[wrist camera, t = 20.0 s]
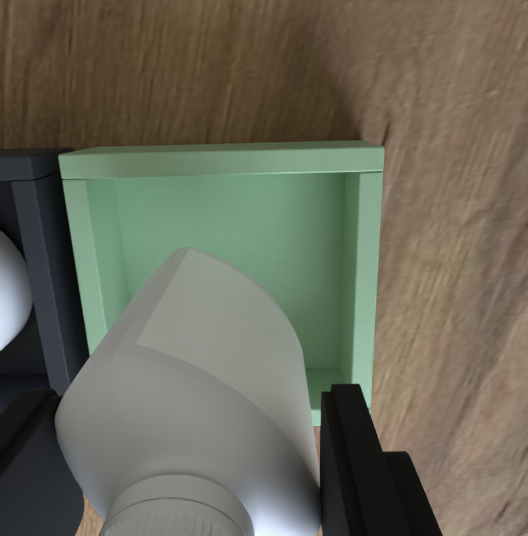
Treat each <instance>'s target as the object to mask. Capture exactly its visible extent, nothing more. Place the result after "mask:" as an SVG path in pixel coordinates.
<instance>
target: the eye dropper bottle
mask: <svg viewBox="0 0 528 536" xmlns="http://www.w3.org/2000/svg"><path fill="white" fill-rule="evenodd" d="M54 422H55V428H56V435H57V440H58V443H59V445H60V448H61V450H62V453H63V455H64V458H65V460H66V462H67V464H68V466H69V468H70V470H71V472H72V474H73V476H74V478H75V479H76V481H77V483H78V484H79V486H80V488H81V489H82V491H83V493H84V494H85V496H86V497H87V499H88V500H89V502H90V503H91V505H92V506H93V508H94V509H95V510H96V512H97V513H98V514H99V515H100V517H101V518H102V519H103V521H104V524H103V526H102V529H101V531H100V534H99V536H315V535H316V534H317V532H318V531H319V528H320V525H321V513H322V506H321V495H320V478H319V469H318V460H317V452H316V445H315V438H314V430H313V423H312V415H311V408H310V401H309V394H308V387H307V380H306V373H305V366H304V359H303V352H302V348H301V345H300V342H299V339H298V337H297V335H296V333H295V330H294V328H293V327H292V325H291V323H290V321H289V319H288V318H287V316H286V314H285V313H284V312H283V310H282V309H281V307H280V306H279V304H278V303H277V302H276V301H275V299H274V298H273V297H272V296H271V295H270V294H269V293H268V291H267V290H266V289H265V288H264V287H263V286H261V285H260V284H259V283H258V282H257V281H256V280H255V279H253V278H252V277H251V276H250V275H248V274H247V273H246V272H244V271H243V270H241V269H240V268H238V267H237V266H235V265H233V264H232V263H230V262H228V261H226V260H224V259H222V258H220V257H218V256H216V255H214V254H211V253H209V252H206V251H204V250H201V249H197V248H194V247H182V248H180V249H178V250H176V251H174V252H173V253H172V254H171V255H170V256H169V257H168V258H167V259H166V260H165V261H164V262H163V263H162V264H161V265H160V266H159V267H158V268H157V269H156V270H155V271H154V272H153V273H152V274H151V275H150V276H149V277H148V279H147V280H146V281H145V282H144V283H143V285H142V286H141V287H140V289H139V290H138V291H137V293H136V294H135V296H134V297H133V298H132V300H131V301H130V302H129V304H128V305H127V306H126V308H125V309H124V311H123V312H122V313H121V315H120V316H119V317H118V319H117V320H116V321H115V323H114V324H113V326H112V327H111V328H110V330H109V331H108V332H107V334H106V335H105V337H104V338H103V339H102V341H101V342H100V344H99V345H98V346H97V348H96V349H95V350H94V352H93V353H92V355H91V356H90V357H89V359H88V360H87V361H86V363H85V364H84V366H83V367H82V369H81V370H80V372H79V373H78V374H77V376H76V377H75V379H74V380H73V382H72V383H71V385H70V386H69V388H68V389H67V391H66V392H65V394H64V396H63V398H62V400H61V402H60V404H59V407H58V409H57V411H56V414H55V420H54Z"/></svg>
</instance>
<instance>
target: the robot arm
mask: <svg viewBox="0 0 528 536" xmlns="http://www.w3.org/2000/svg"><path fill="white" fill-rule="evenodd" d="M62 398H63V396H58V394H57V392H56V391H55V390H54V389H26V390H23V391H21V392H20V393H19V394H18V395H17V396H16V398H15V399H14V400H13V401H12V402H11V403H10V404H9V405H8V407H7V408H6V409H5V410H4V411H3V412H2V413H1V414H0V536H75V534H76V532H77V529H78V527H79V525H80V523H81V520H82V517H83V512H84V498H83V492H82V489H81V488H80V486H79V484H78V483H77V481H76V479H75V478H74V476H73V474H72V472H71V470H70V468H69V466H68V464H67V462H66V460H65V458H64V455H63V453H62V450H61V448H60V445H59V443H58V440H57V435H56V428H55V422H54V420H55V414H56V411H57V409H58V407H59V404H60V402H61V400H62ZM320 495H321V506H322V513H321V525H322V532H323V536H443V535H442V533H441V530H440V528H439V526H438V523H437V521H436V518H435V516H434V513H433V511H432V509H431V506H430V504H429V501H428V499H427V496H426V494H425V492H424V489H423V487H422V484H421V482H420V479H419V477H418V475H417V472H416V470H415V467H414V465H413V462H412V460H411V458H410V456H409V454H408V453H407V452H405V451H395V452H383V451H382V448H381V445H380V442H379V439H378V436H377V433H376V430H375V427H374V424H373V422H372V419H371V416H370V413H369V410H368V407H367V404H366V401H365V398H364V395H363V392H362V389H361V386H360V384H332V385H331V391H322V392H321V426H320Z"/></svg>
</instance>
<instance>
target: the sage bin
mask: <svg viewBox="0 0 528 536" xmlns="http://www.w3.org/2000/svg"><path fill="white" fill-rule="evenodd" d="M58 159H59V166H60V172H61V178H62V179H64V180H63V181H62V183H63V189H64V195H65V202H66V208H67V215H68V221H69V227H70V234H71V240H72V246H73V253H74V259H75V265H76V272H77V278H78V285H79V291H80V297H81V304H82V310H83V316H84V323H85V329H86V335H87V342H88V348H89V355H90V356H91V355H92V353H93V352H94V350H95V349H96V348H97V346H98V345H99V344H100V342H101V341H102V339H103V338H104V337H105V335H106V334H107V332H108V331H109V330H110V328H111V327H112V326H113V324H114V323H115V321H116V320H117V319H118V317H119V316H120V315H121V313H122V312H123V311H124V309H125V308H126V306H127V305H128V304H129V302H130V301H131V300H132V298H133V297H134V296H135V294H136V293H137V291H138V290H139V289H140V287H141V286H142V285H143V283H144V282H145V281H146V280H147V279H148V277H149V276H150V275H151V274H152V273H153V272H154V271H155V270H156V269H157V268H158V267H159V266H160V265H161V264H162V263H163V262H164V261H165V260H166V259H167V258H168V257H169V256H170V255H171V254H172V253H173V252H174V251H176V250H178V249H180V248H182V247H194V248H197V249H201V250H204V251H206V252H209V253H211V254H214V255H216V256H218V257H220V258H222V259H224V260H226V261H228V262H230V263H232V264H233V265H235V266H237V267H238V268H240V269H241V270H243V271H244V272H246V273H247V274H248V275H250V276H251V277H252V278H253V279H255V280H256V281H257V282H258V283H259V284H260V285H261V286H263V287H264V288H265V289H266V290H267V291H268V293H269V294H270V295H271V296H272V297H273V298H274V299H275V301H276V302H277V303H278V304H279V306H280V307H281V309H282V310H283V312H284V313H285V314H286V316H287V318H288V319H289V321H290V323H291V325H292V327H293V328H294V330H295V333H296V335H297V337H298V339H299V342H300V345H301V348H302V352H303V359H304V366H305V373H306V380H307V387H308V394H309V401H310V408H311V415H312V423H313V426H321V392H322V391H331V385H332V384H360V386H361V389H362V392H363V395H364V398H365V401H366V404H367V407H368V410H369V413H370V411H371V408H370V406H371V392H372V373H373V354H374V335H375V316H376V297H377V278H378V259H379V240H380V222H381V203H382V184H383V172H381V171H383V166H384V147H383V146H380V145H377V144H373V143H370V142H367V141H363V140H348V141H308V142H269V143H229V144H190V145H151V146H111V147H93V148H88V149H84V150H79V151H74V152H69V153H64V154H60V155H58Z"/></svg>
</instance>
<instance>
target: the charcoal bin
mask: <svg viewBox="0 0 528 536" xmlns="http://www.w3.org/2000/svg"><path fill="white" fill-rule="evenodd" d="M69 152H73V149H72V148H71V147H70V148H31V149H0V230H1V231H2V232H3V233H4V234H5V235H6V236H7V237H8V238H9V239H10V240H11V241H12V242H13V244H14V245H15V246H16V247H17V249H18V250H19V252H20V253H21V255H22V257H23V258H24V260H25V262H26V264H27V270H28V275H29V280H30V285H31V291H32V296H33V304H32V309H31V313H30V316H29V318H28V320H27V322H26V324H25V326H24V327H23V329H22V330H21V331H20V332H19V333H18V335H17V336H16V337H15V338H14V339H13V340H12V341H11V342H10V343H8V344H7V345H6V346H5V347H4V348H3V349H2V350H1V351H0V414H1V413H2V412H3V411H4V410H5V409H6V408H7V407H8V405H9V404H10V403H11V402H12V401H13V400H14V399H15V398H16V396H17V395H18V394H19V393H20V392H21V391H23V390H26V389H54V390H55V391H56V392H57V394H58V396H64V394H65V392H66V391H67V389H68V388H69V386H70V385H71V383H72V382H73V380H74V379H75V377H76V376H77V374H78V373H79V372H80V370H81V369H82V367H83V366H84V364H85V363H86V361H87V360H88V359H89V357H90V355H89V348H88V342H87V335H86V329H85V323H84V316H83V310H82V304H81V297H80V291H79V285H78V278H77V272H76V265H75V259H74V253H73V246H72V240H71V234H70V227H69V221H68V215H67V208H66V202H65V195H64V189H63V183H62V181H63V180H64V179H62V178H61V172H60V166H59V159H58V155H60V154H64V153H69Z"/></svg>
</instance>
